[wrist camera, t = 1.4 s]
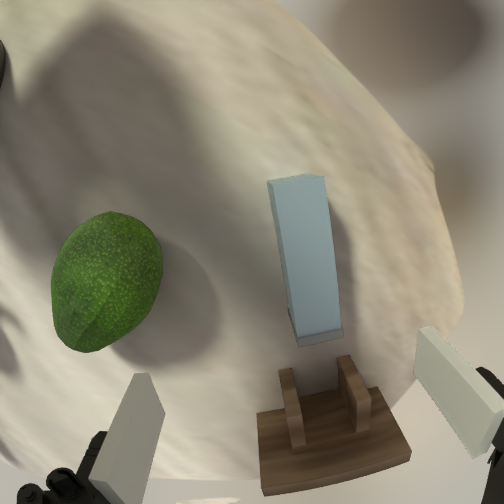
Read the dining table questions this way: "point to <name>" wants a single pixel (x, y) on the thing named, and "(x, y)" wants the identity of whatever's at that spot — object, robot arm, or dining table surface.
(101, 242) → the fruit
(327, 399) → the wooden card holder
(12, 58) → the dining table surface
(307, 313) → the block
